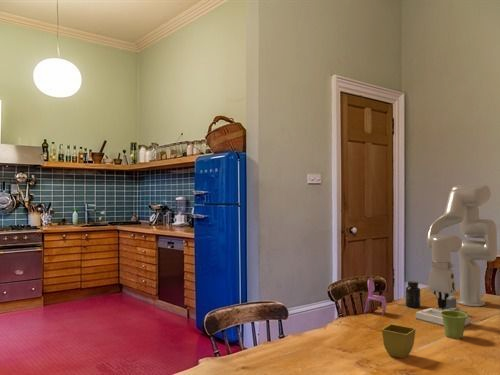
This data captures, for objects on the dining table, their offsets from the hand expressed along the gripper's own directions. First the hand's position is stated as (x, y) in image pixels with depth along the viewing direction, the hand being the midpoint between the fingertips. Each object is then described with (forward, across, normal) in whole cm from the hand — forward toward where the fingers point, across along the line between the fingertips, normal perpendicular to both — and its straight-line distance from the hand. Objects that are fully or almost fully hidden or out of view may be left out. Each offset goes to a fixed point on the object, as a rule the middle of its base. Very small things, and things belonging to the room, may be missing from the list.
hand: (442, 307), depth 186 cm
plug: (+6, +4, -13) cm, 15 cm away
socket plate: (+6, -1, +1) cm, 6 cm away
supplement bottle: (+6, +21, -11) cm, 25 cm away
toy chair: (+6, +25, +13) cm, 29 cm away
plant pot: (+5, -14, +16) cm, 22 cm away
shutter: (+2, -6, +1) cm, 6 cm away
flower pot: (+5, -12, +50) cm, 52 cm away
